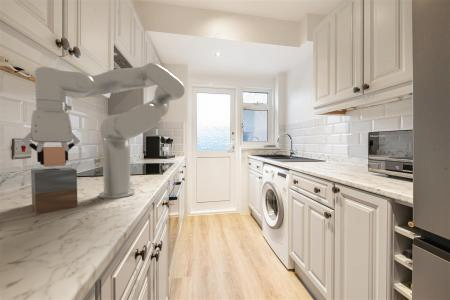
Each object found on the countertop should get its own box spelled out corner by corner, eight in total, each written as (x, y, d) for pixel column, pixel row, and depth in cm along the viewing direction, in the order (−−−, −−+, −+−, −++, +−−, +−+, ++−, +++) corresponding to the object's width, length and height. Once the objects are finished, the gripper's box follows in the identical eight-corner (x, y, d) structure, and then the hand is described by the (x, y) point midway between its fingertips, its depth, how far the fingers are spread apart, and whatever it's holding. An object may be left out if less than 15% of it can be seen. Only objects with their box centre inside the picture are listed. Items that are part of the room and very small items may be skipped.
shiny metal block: (32, 204, 70) (30, 168, 69) (68, 198, 77) (67, 166, 77) (36, 214, 60) (34, 173, 60) (77, 206, 67) (76, 169, 67)
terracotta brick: (42, 164, 69) (41, 146, 69) (61, 163, 73) (60, 146, 72) (45, 166, 64) (44, 147, 63) (65, 165, 67) (64, 146, 67)
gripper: (80, 111, 76) (81, 161, 77) (14, 105, 64) (16, 164, 65) (85, 109, 71) (86, 162, 72) (14, 102, 59) (17, 166, 59)
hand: (53, 163), depth 68 cm, fingers closed on terracotta brick, 5 cm apart
